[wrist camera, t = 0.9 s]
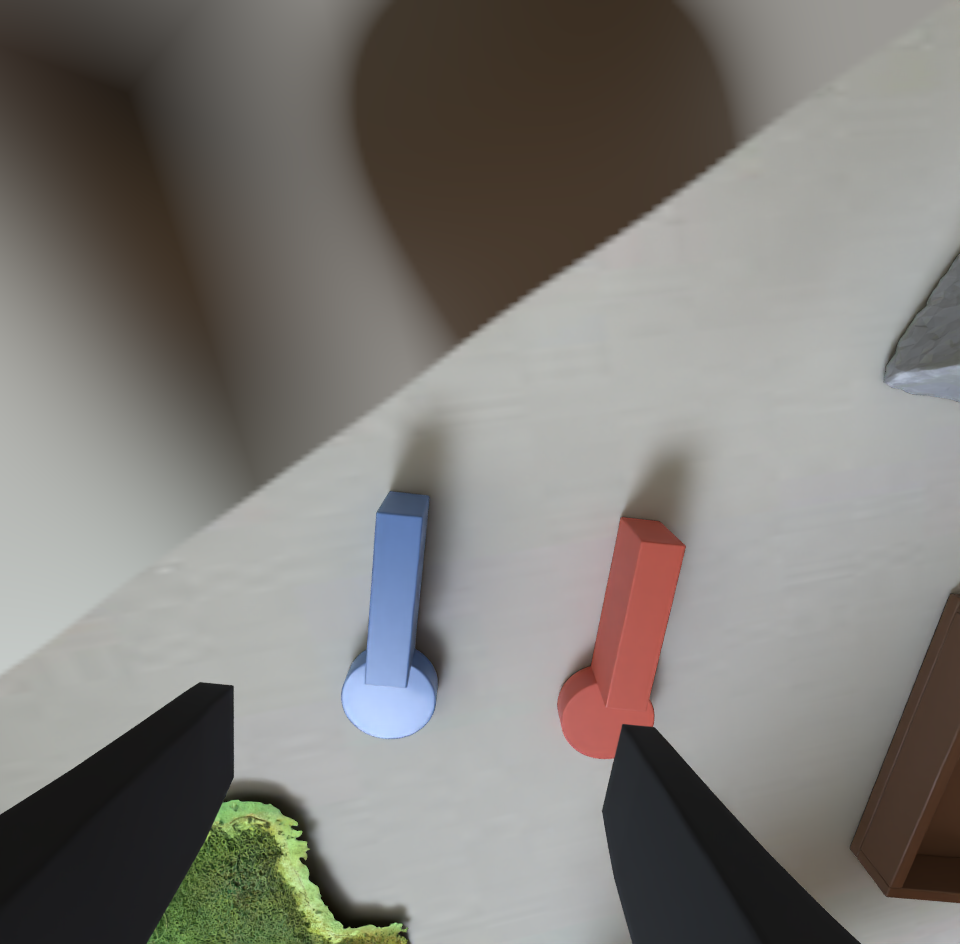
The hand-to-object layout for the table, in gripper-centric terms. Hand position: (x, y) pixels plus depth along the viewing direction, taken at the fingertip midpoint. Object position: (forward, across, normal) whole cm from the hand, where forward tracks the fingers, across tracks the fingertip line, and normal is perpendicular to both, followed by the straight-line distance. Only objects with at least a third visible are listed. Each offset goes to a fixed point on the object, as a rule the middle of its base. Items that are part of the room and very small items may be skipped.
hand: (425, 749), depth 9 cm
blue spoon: (+8, +2, +2) cm, 9 cm away
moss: (+8, +7, +17) cm, 20 cm away
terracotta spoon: (+8, -6, +2) cm, 11 cm away
